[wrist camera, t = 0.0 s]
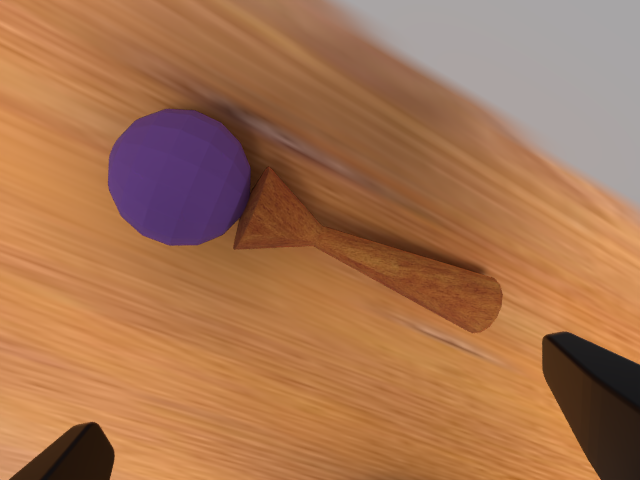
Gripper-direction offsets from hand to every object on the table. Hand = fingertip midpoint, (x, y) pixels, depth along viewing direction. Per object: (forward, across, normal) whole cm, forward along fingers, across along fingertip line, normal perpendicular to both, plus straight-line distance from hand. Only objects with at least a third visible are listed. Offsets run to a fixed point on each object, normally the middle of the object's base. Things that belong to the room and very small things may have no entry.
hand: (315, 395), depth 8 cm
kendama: (+15, 0, +2) cm, 15 cm away
